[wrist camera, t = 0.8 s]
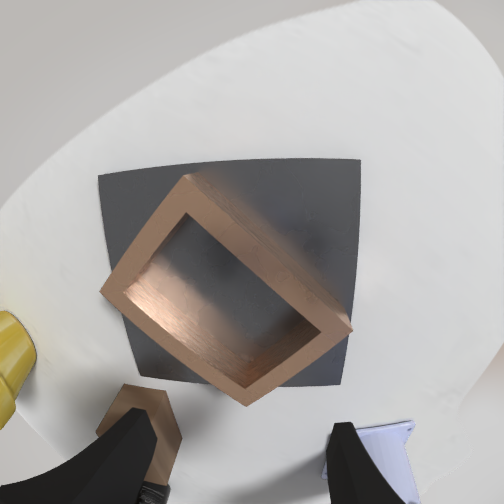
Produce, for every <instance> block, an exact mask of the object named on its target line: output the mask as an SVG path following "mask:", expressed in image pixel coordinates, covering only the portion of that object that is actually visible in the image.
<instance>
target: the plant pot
mask: <svg viewBox="0 0 504 504" xmlns="http://www.w3.org/2000/svg"><path fill="white" fill-rule="evenodd" d="M35 361H36V350H35V347H34V344H33V342H32V340H31V338H30V336H29V334H28V333H27V331H26V330H25V328H24V327H23V325H22V324H21V323H20V322H19V321H18V320H17V319H16V318H15V317H14V316H13V315H12V314H10V313H9V312H7V311H0V430H1V429H2V428H3V427H4V426H5V424H6V423H7V422H8V420H9V419H10V418H11V416H12V415H13V414H14V412H15V410H16V405H15V400H16V398H17V396H18V394H19V392H20V390H21V388H22V386H23V384H24V382H25V380H26V378H27V376H28V374H29V372H30V370H31V369H32V367H33V365H34V363H35Z"/></svg>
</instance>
